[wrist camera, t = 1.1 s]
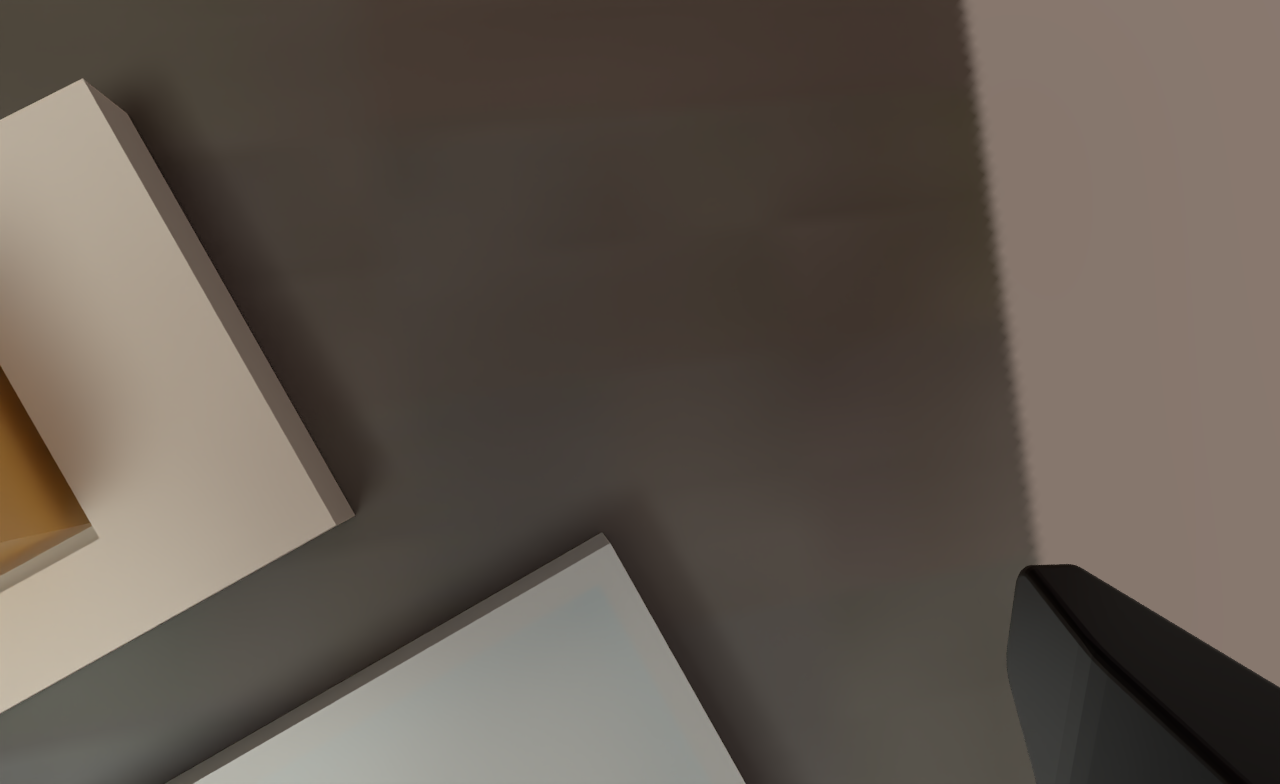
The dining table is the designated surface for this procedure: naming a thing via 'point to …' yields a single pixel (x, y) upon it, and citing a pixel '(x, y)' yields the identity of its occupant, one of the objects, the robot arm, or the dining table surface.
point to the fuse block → (133, 398)
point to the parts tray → (504, 699)
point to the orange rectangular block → (30, 488)
